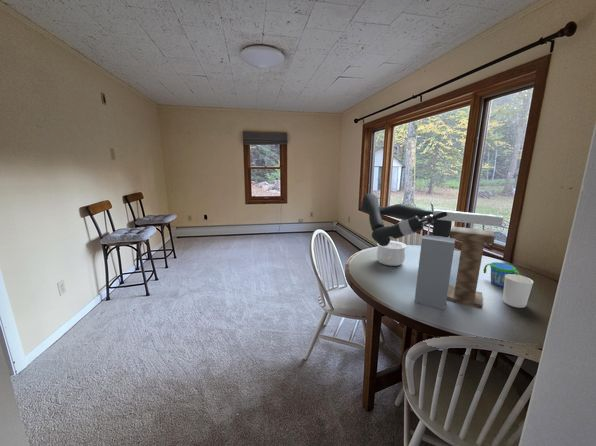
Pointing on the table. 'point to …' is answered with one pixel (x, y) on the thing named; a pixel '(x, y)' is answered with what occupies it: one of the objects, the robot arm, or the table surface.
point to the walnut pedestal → (469, 265)
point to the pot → (391, 253)
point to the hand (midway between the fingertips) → (446, 212)
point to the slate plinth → (434, 270)
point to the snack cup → (500, 272)
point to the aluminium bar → (471, 218)
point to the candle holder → (516, 290)
